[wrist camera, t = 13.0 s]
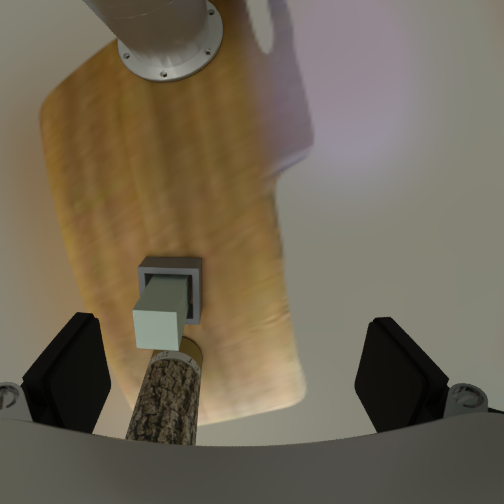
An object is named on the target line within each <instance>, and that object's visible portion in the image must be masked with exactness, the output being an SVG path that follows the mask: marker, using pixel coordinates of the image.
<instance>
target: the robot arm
mask: <svg viewBox="0 0 504 504" xmlns="http://www.w3.org/2000/svg"><path fill="white" fill-rule="evenodd" d="M83 1H84V2H85V3H86V4H87V5H88V6H89V7H90V9H92V11H93V12H94V13H95V14H96V15H97V16H98V17H99V18H100V19H101V20H102V21H103V22H104V23H105V24H106V25H107V26H108V28H109V29H110V30H111V31H112V32H113V33H114V34H115V35H116V36H117V37H118V44H117V46H118V52H119V55H120V58H121V60H122V62H123V63H124V64H125V66H126V67H127V68H128V69H129V70H130V71H131V72H132V73H134V74H135V75H137V76H138V77H140V78H143V79H145V80H148V81H154V82H172V81H178V80H181V79H184V78H187V77H189V76H191V75H193V74H195V73H197V72H198V71H200V70H201V69H202V68H204V67H205V66H206V65H207V64H208V63H209V62H210V61H211V60H212V59H213V58H214V56H215V55H216V53H217V52H218V50H219V47H220V45H221V42H222V37H223V24H222V19H221V16H220V14H219V12H218V10H217V9H216V8H215V6H214V5H213V4H212V3H211V2H209V1H208V0H83ZM210 14H213V15H210ZM208 52H209V53H210V55H206V53H208ZM128 56H130V57H129V58H128V59H127V57H128ZM165 74H167V76H166V77H163V76H164V75H165ZM22 378H23V381H24V382H23V383H22V384H21V386H19V385H17V384H15V383H12V382H3V383H0V504H504V412H503V411H499V410H496V409H492V408H488V399H487V396H486V394H485V393H484V392H483V391H482V390H481V389H480V388H478V387H476V386H474V385H471V384H466V383H460V384H455V385H453V386H452V387H451V388H449V387H448V386H447V383H448V381H449V378H448V377H447V376H446V375H445V374H444V373H443V372H442V370H441V369H440V368H439V367H438V366H437V365H436V364H435V363H434V362H433V361H432V360H431V358H430V357H429V356H428V355H427V354H426V353H425V352H424V351H423V350H422V349H421V348H420V347H419V346H418V345H417V344H416V343H415V342H414V340H413V339H412V338H410V336H409V335H408V334H407V333H406V332H405V331H404V330H403V329H402V328H401V327H400V326H399V325H398V324H397V323H396V322H395V321H394V320H393V319H392V318H391V317H379V318H375V319H374V320H373V322H370V323H369V326H368V330H367V334H366V339H365V343H364V348H363V352H362V356H361V360H360V364H359V368H358V372H357V376H356V379H355V391H356V393H357V395H358V397H359V399H360V400H361V403H362V405H363V406H364V408H365V410H366V412H367V414H368V416H369V418H370V420H371V422H372V424H373V425H374V427H375V429H376V431H377V433H375V434H369V435H363V436H357V437H350V438H344V439H336V440H328V441H320V442H311V443H299V444H287V445H269V446H194V445H177V444H164V443H153V442H143V441H135V440H127V439H120V438H113V437H107V436H101V435H95V434H92V432H93V430H94V427H95V425H96V423H97V420H98V418H99V415H100V413H101V410H102V408H103V406H104V404H105V401H106V399H107V396H108V394H109V392H110V389H111V379H110V375H109V370H108V366H107V361H106V356H105V351H104V346H103V340H102V335H101V329H100V323H99V320H98V318H95V317H94V315H93V314H92V313H80V312H77V313H76V314H75V315H74V316H73V317H72V318H71V319H70V320H69V322H68V323H67V324H66V325H65V326H64V327H63V329H62V330H61V331H60V332H59V333H58V335H57V336H56V337H55V338H54V339H53V340H52V341H51V343H50V344H49V345H48V346H47V348H46V349H45V350H44V351H43V352H42V354H41V355H40V356H39V357H38V359H37V360H36V361H35V362H34V363H33V365H32V366H31V367H30V369H29V370H28V371H27V372H26V374H25V375H24V376H23V377H22Z"/></svg>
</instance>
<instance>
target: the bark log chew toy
mask: <svg viewBox="0 0 504 504" xmlns="http://www.w3.org/2000/svg"><path fill="white" fill-rule="evenodd" d="M201 370H202V354H201V351H200V349H199V348H198V347H197V346H196V344H194V343H193V342H192V341H190V340H188V339H186V338H183V337H182V338H181V342H180V347H179V351H174V350H157V349H154V351H153V354H152V357H151V360H150V362H149V365H148V368H147V371H146V374H145V377H144V380H143V383H142V386H141V389H140V393H139V396H138V399H137V402H136V405H135V408H134V411H133V415H132V418H131V421H130V424H129V428H128V431H127V434H126V438H125V439H127V440H135V441H143V442H153V443H164V444H177V445H194V446H195V444H196V431H197V418H198V406H199V394H200V383H201Z"/></svg>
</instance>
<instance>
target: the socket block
mask: <svg viewBox="0 0 504 504" xmlns="http://www.w3.org/2000/svg"><path fill="white" fill-rule="evenodd" d="M138 274H139V288H140V296H141V295H142V293H143V291H144V290H145V288H146V286H147V285H148V283H149V282H150V280H151V278H152V277H153V274H184V275H192V282H193V304H189V308H188V312H187V317H186V321H185V324H197V325H200V318H201V312H202V281H201V258H178V257H146V258H145V259H144V260H143V261H142V263H141V264H140V265H139V266H138Z"/></svg>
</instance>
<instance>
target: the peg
mask: <svg viewBox="0 0 504 504" xmlns="http://www.w3.org/2000/svg"><path fill="white" fill-rule="evenodd" d="M190 300H191V284H190V275H184V274H154V275H153V277H152V278H151V280H150V282H149V283H148V285H147V286H146V288H145V290H144V291H143V293H142V295H141V296H140V298H139V300H138V301H137V303H136V305H135V307H134V308H133V319H134V328H135V336H136V344H137V348H143V349H157V350H174V351H179V347H180V342H181V338H182V334H183V329H184V325H185V321H186V317H187V312H188V308H189V304H190Z"/></svg>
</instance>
